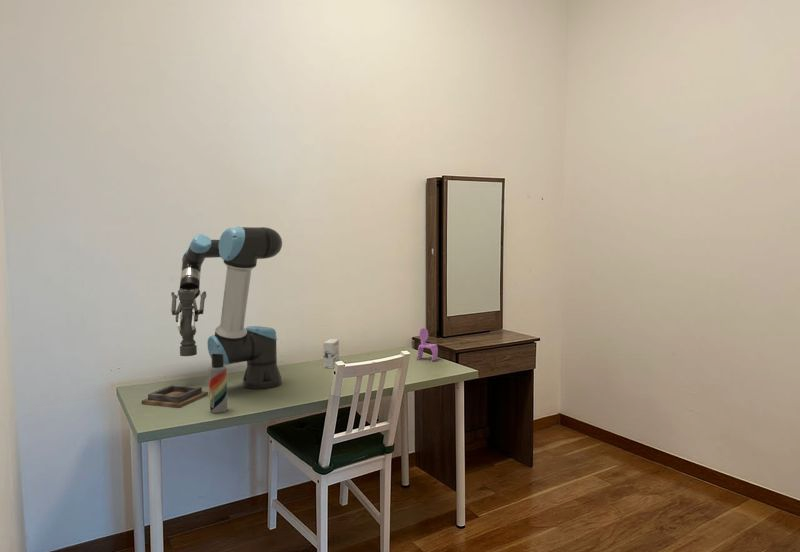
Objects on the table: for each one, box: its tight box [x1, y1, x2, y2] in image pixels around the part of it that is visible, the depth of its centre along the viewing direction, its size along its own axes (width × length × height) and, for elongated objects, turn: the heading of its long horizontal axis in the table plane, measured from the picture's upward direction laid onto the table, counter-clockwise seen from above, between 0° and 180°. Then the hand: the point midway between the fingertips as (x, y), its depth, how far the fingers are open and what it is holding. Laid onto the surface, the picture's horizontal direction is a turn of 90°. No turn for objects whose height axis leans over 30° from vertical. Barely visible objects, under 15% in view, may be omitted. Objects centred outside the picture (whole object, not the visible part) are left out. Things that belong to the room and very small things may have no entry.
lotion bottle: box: [208, 354, 229, 414], centre depth 189 cm, size 6×6×20 cm
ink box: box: [322, 338, 340, 369], centre depth 253 cm, size 9×5×12 cm, turn 168°
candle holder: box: [178, 291, 198, 357], centre depth 218 cm, size 6×6×25 cm
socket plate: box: [141, 384, 209, 409], centre depth 203 cm, size 16×16×3 cm
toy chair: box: [415, 327, 439, 362], centre depth 265 cm, size 8×9×15 cm
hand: (186, 327), depth 215 cm, fingers closed on candle holder, 4 cm apart
